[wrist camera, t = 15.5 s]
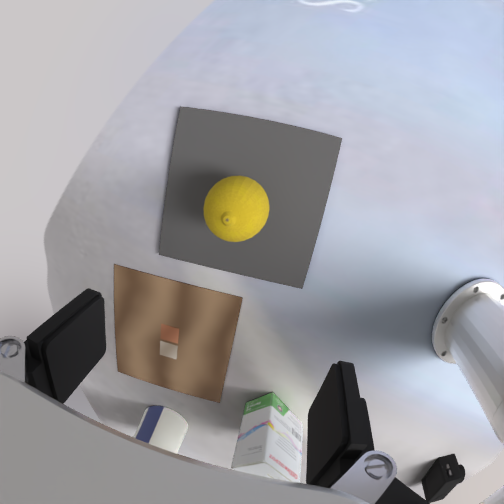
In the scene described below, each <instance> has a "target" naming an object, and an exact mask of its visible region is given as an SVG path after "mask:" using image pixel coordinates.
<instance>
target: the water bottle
mask: <svg viewBox="0 0 504 504" xmlns="http://www.w3.org/2000/svg"><path fill="white" fill-rule="evenodd" d="M187 430H188V424H187V422H186V420H185V419H184V418H183V417H182V416H181V415H180V414H178V413H177V412H175V411H173V410H171V409H169V408H166V407H162V406H150V407H148V408H147V409H146V410H145V412H144V414H143V417H142V419H141V421H140V424H139V426H138V428H137V431H136V433H135V435H134V437H133V438H135V439H138V440H140V441H143V442H146V443H148V444H151V445H153V446H156V447H159V448H162V449H164V450H167V451H170V452H173V453H176V454H178V451H179V449H180V446H181V444H182V441H183V439H184V437H185V435H186V432H187Z"/></svg>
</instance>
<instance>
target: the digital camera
mask: <svg viewBox="0 0 504 504" xmlns="http://www.w3.org/2000/svg"><path fill="white" fill-rule="evenodd" d="M464 477H465V469H464V467H463V466H462V465H458V462H457V459H456V456H455V454H451V455H447V456H443V457H439V458H438V459H437V460H436V462H435V463H434V464H433V466H432V467H431V468H430V470H429V471H428V473H427V474H426V475H425V477H424V478H423V479H422V486H423V490H424V494H425V498H426V501H427V502H429V503H431V502H435V501H438V500H441V499H444V498H445V496H446V495H447V494H448V493H449V492H450V491H451V490H452V489H453V488H454V487H455V486H456V485H457V484H458V483H461V482H462V481H463V480H464Z"/></svg>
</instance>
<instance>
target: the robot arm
mask: <svg viewBox="0 0 504 504" xmlns="http://www.w3.org/2000/svg"><path fill="white" fill-rule="evenodd" d="M432 344H433V348H434V349H435V351H436V353H437V355H438V356H439V358H441V359H442V360H443V361H445V362H448V363H453V364H457V365H458V367H459V368H460V370H461V372H462V373H463V375H464V377H465V379H466V380H467V382H468V384H469V385H470V387H471V389H472V391H473V393H474V394H475V396H476V398H477V400H478V402H479V403H480V405H481V407H482V409H483V411H484V413H485V415H486V417H487V419H488V420H489V422H490V424H491V426H492V428H493V430H494V432H495V434H496V436H497V437H498V439H499V440H500V441H501V443H503V444H504V288H503V287H502V286H501V285H500V284H499V283H497V282H496V281H494V280H491V279H478V280H474V281H472V282H469V283H467V284H465V285H464V286H462V287H461V288H459V289H458V290H457V291H456V292H455V293H454V294H452V296H451V297H450V298H449V299H448V300H447V301H446V302H445V304H444V305H443V307H442V308H441V310H440V312H439V313H438V315H437V317H436V320H435V323H434V325H433V330H432ZM105 351H106V336H105V311H104V298H103V297H102V295H101V293H100V292H97V291H94V290H92V289H86V290H85V291H83V292H82V293H81V294H80V295H78V296H77V297H76V298H74V299H73V300H72V301H71V302H69V303H68V304H67V305H65V306H64V307H63V308H62V309H60V310H59V311H58V312H57V313H55V314H54V315H53V316H52V317H51V318H49V319H48V320H47V321H46V322H44V323H43V324H42V325H41V326H39V327H38V328H37V329H36V330H35V331H33V332H32V333H31V334H30V335H29V336H27V340H26V341H25V342H23V341H22V340H21V339H19V338H17V337H15V336H6V337H3V338H0V504H430V503H429V502H427V501H426V500H424V499H423V498H422V497H420V496H419V495H418V494H416V493H415V492H414V491H412V490H411V489H410V488H408V487H407V486H406V485H405V484H403V483H402V482H401V481H399V480H398V479H397V478H395V476H396V474H397V466H396V463H395V461H394V460H393V458H392V457H390V456H389V455H388V454H386V453H384V452H381V451H375V450H374V444H373V438H372V432H371V427H370V421H369V415H368V410H367V405H366V401H365V399H364V398H360V394H359V389H358V383H357V378H356V373H355V368H354V364H353V363H348V362H343V361H338V363H337V364H332V366H331V368H330V370H329V372H328V374H327V376H326V378H325V380H324V382H323V384H322V386H321V388H320V390H319V392H318V394H317V396H316V398H315V400H314V402H313V403H312V405H311V407H310V409H309V413H308V441H307V474H306V483H307V484H303V483H298V482H291V481H285V480H280V479H274V478H269V477H264V476H259V475H254V474H249V473H245V472H240V471H236V470H232V469H228V468H224V467H220V466H216V465H212V464H209V463H205V462H202V461H198V460H195V459H192V458H189V457H185V456H182V455H179V454H176V453H173V452H170V451H167V450H164V449H162V448H159V447H156V446H153V445H151V444H148V443H146V442H143V441H140V440H138V439H135V438H133V437H131V436H128V435H126V434H123V433H121V432H119V431H117V430H114V429H112V428H110V427H108V426H105V425H103V424H101V423H99V422H97V421H95V420H93V419H90V418H89V417H87V416H85V415H83V414H81V413H79V412H77V411H75V410H73V409H71V408H69V407H67V406H66V405H64V404H63V403H64V402H65V401H66V400H67V399H68V398H69V396H70V395H71V394H72V393H73V391H74V390H75V389H76V388H77V387H78V385H79V384H80V383H81V382H82V381H83V379H84V378H85V377H86V376H87V374H88V373H89V372H90V371H91V370H92V369H93V367H94V366H95V365H96V364H97V363H98V361H99V360H100V359H101V358H102V357H103V355H104V354H105ZM480 504H504V485H503V486H502V487H501V488H500V489H498V490H497V491H496V492H494V493H493V494H492V495H491V496H489V497H488V498H486V499H485V500H484V501H483V502H481V503H480Z"/></svg>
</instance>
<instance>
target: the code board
mask: <svg viewBox="0 0 504 504" xmlns="http://www.w3.org/2000/svg"><path fill="white" fill-rule="evenodd" d="M241 303H242V297H238V296H234V295H230V294H226V293H222V292H218V291H213V290H209V289H205V288H201V287H197V286H194V285H190V284H186V283H182V282H178V281H174V280H170V279H167V278H163V277H159V276H155V275H152V274H148V273H144V272H141V271H137V270H134V269H130V268H127V267H123V266H119V265H116V264H114V314H115V338H116V354H117V366H118V372H121V373H124V374H126V375H129V376H132V377H135V378H137V379H140V380H143V381H146V382H149V383H152V384H155V385H158V386H161V387H165V388H168V389H171V390H174V391H178V392H181V393H185V394H188V395H192V396H195V397H199V398H203V399H206V400H210V401H214V402H218V403H220V399H221V394H222V390H223V385H224V381H225V376H226V372H227V367H228V362H229V358H230V353H231V349H232V344H233V340H234V335H235V330H236V326H237V321H238V317H239V312H240V308H241Z"/></svg>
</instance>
